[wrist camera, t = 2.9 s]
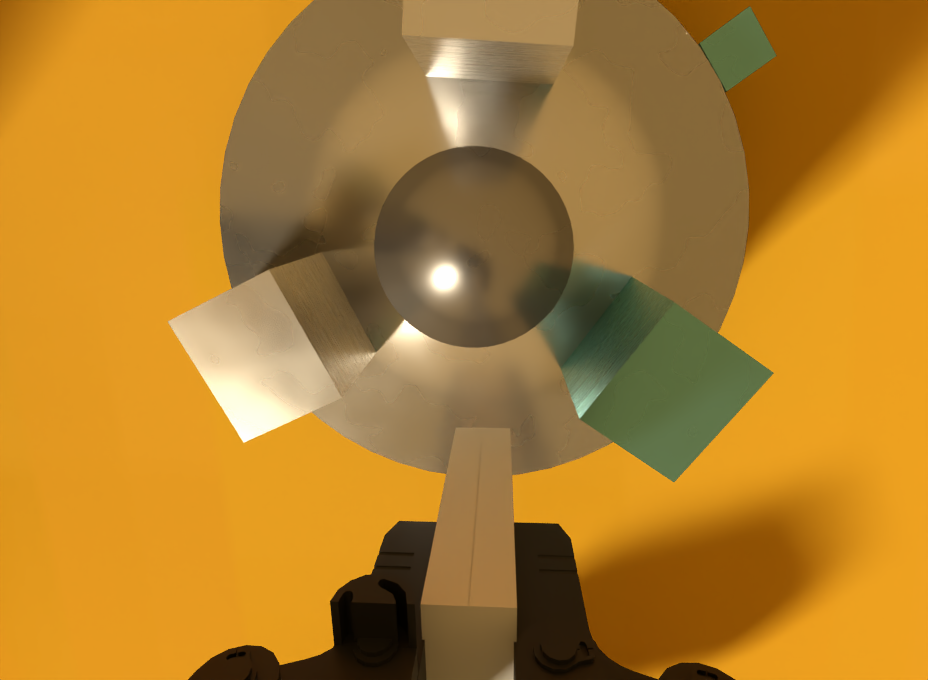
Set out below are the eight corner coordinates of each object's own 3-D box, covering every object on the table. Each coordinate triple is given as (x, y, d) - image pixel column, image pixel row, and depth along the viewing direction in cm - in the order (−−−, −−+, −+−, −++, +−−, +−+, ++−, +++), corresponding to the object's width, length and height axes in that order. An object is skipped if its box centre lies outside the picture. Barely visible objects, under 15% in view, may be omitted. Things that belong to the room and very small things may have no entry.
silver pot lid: (202, 284, 22) (141, 302, 19) (438, -159, 18) (422, -257, 14) (529, 494, 24) (535, 551, 20) (820, 140, 20) (900, 126, 16)
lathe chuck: (173, 294, 19) (34, 338, 13) (407, -156, 15) (353, -372, 9) (531, 522, 21) (544, 648, 15) (828, 169, 17) (1001, 156, 11)
